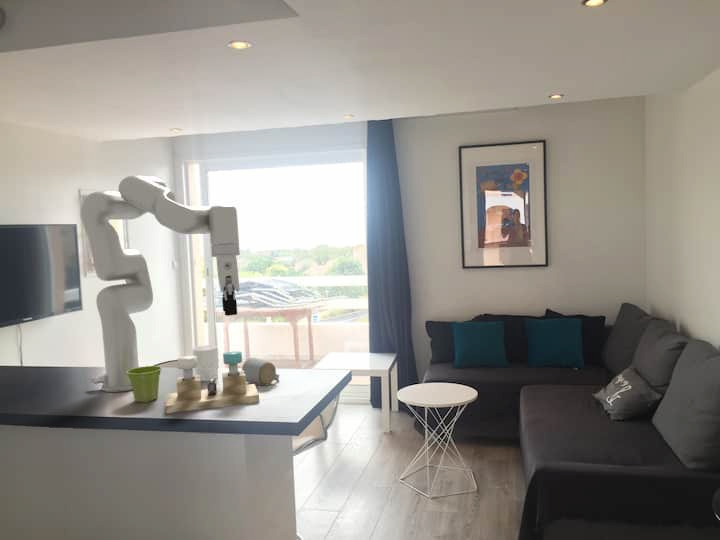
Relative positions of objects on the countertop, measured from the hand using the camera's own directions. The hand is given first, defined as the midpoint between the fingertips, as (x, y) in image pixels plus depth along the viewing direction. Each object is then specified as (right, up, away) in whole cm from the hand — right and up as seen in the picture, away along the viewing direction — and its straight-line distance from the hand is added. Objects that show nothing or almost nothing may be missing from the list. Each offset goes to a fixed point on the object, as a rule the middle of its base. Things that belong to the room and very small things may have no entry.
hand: (230, 312), depth 159 cm
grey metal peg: (-5, -22, 0) cm, 23 cm away
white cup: (-13, -23, +26) cm, 37 cm away
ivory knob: (-11, -19, -2) cm, 22 cm away
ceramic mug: (+6, -23, +18) cm, 30 cm away
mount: (-5, -24, 0) cm, 25 cm away
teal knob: (+1, -19, +1) cm, 19 cm away
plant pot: (-25, -25, +5) cm, 36 cm away
